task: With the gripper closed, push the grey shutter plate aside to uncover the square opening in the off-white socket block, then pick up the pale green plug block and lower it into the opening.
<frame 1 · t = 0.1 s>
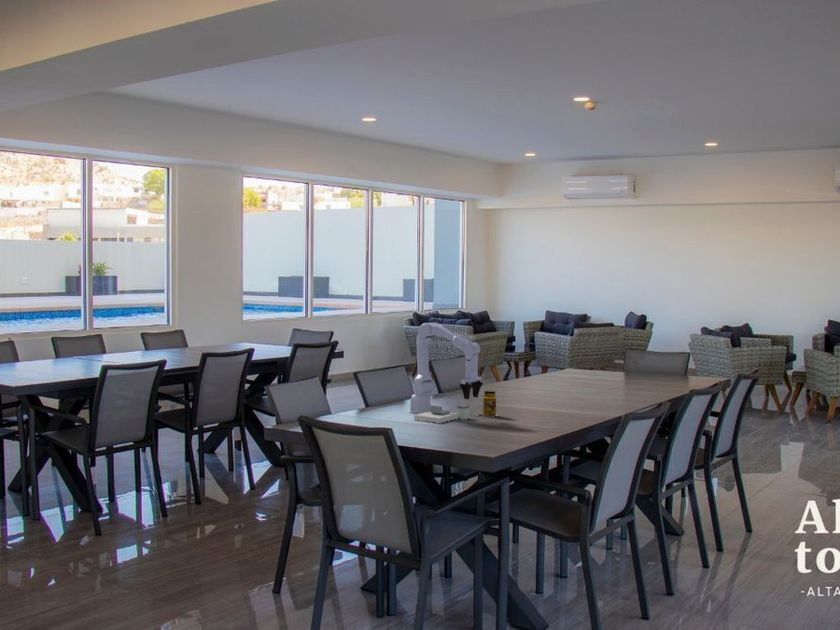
hand: (471, 398, 389), 10 cm above the table, tool pointing down, fingers open, 7 cm apart
socket: (436, 419, 389), on the table
plug: (463, 418, 393), on the table
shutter: (439, 409, 391), point 5 cm above the table, slide at 0.0 cm
condiment: (487, 416, 401), on the table
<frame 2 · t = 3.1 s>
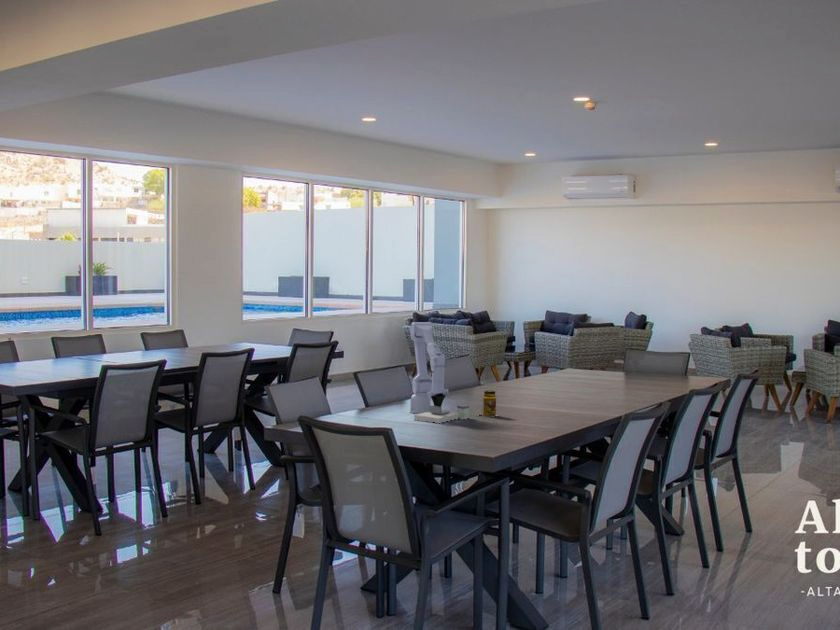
hand: (437, 410, 390), 4 cm above the table, tool pointing down, fingers closed
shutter: (439, 409, 391), point 5 cm above the table, slide at 0.3 cm, touching gripper
everything else where it was.
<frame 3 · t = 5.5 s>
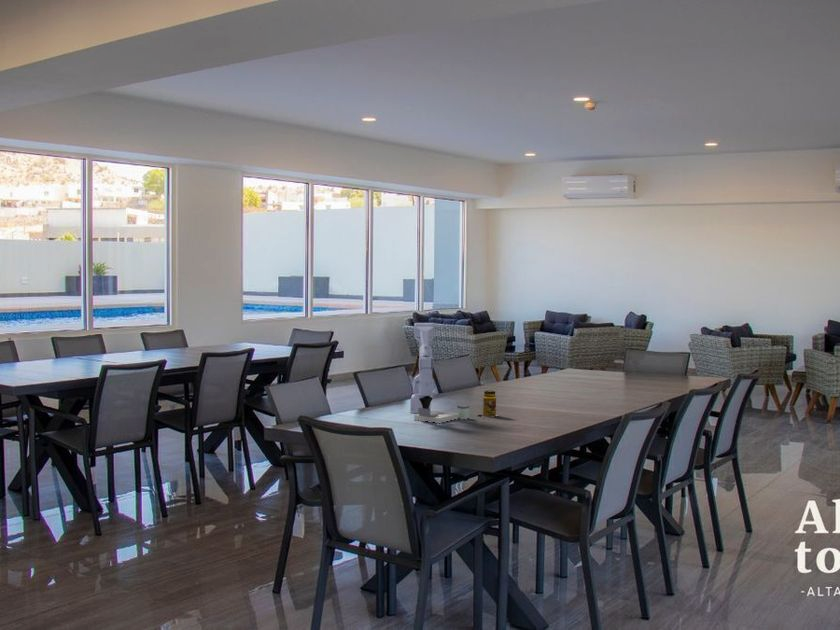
hand: (425, 412, 382), 4 cm above the table, tool pointing down, fingers closed, pressing on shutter
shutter: (428, 411, 384), point 5 cm above the table, slide at 9.3 cm, touching gripper
everything else where it was.
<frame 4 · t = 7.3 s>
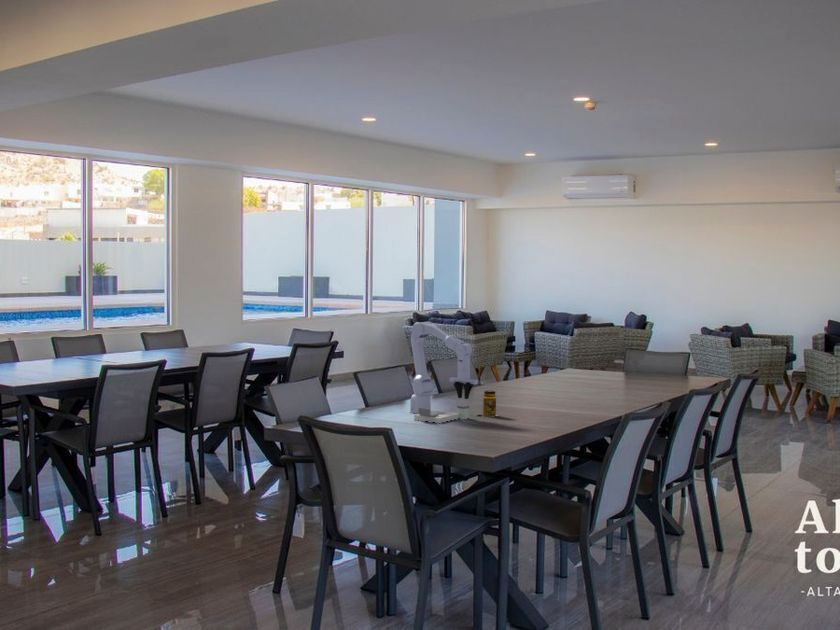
hand: (463, 398, 392), 9 cm above the table, tool pointing down, fingers open, 3 cm apart
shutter: (428, 411, 384), point 5 cm above the table, slide at 9.0 cm
everything else where it was.
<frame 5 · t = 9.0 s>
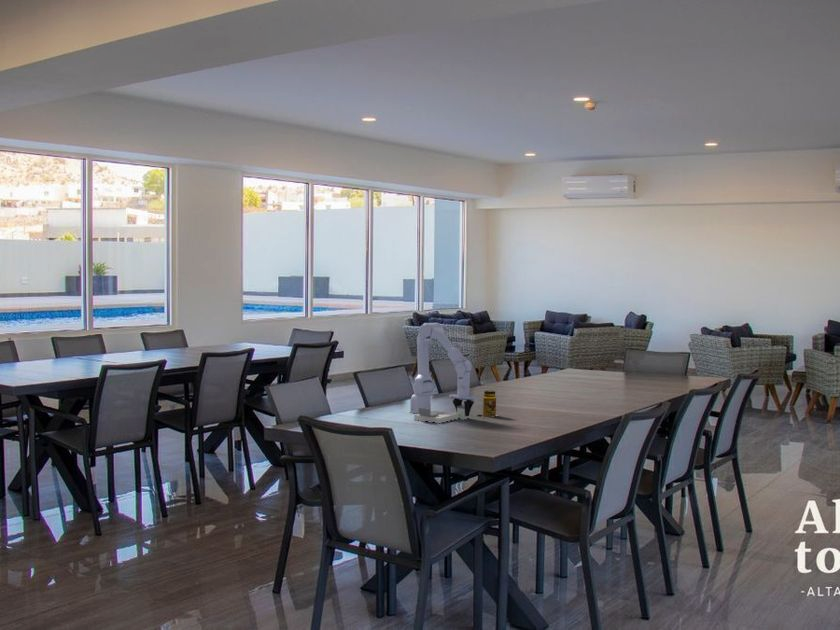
hand: (463, 415, 393), 1 cm above the table, tool pointing down, fingers closed on plug, 4 cm apart
plug: (463, 418, 393), on the table, touching gripper
everything else where it was.
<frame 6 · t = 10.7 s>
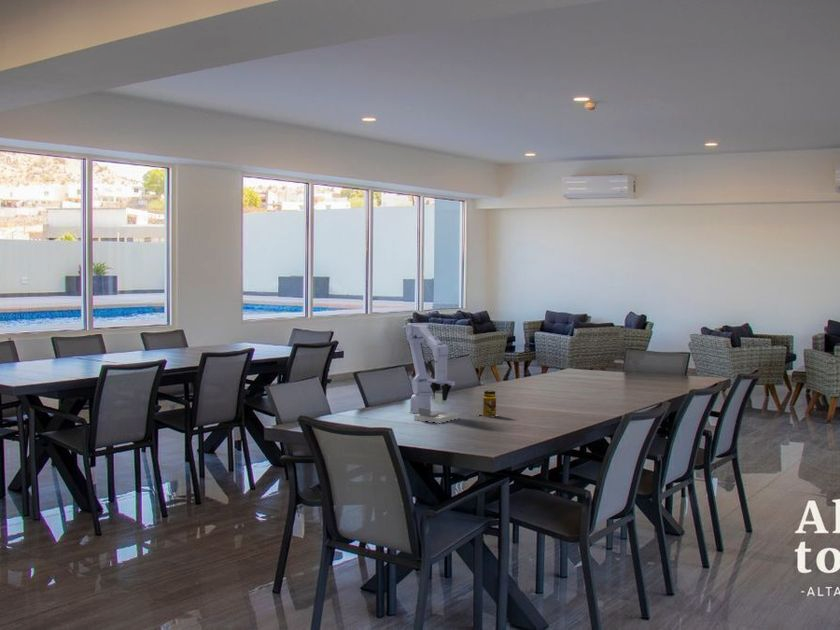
hand: (440, 399, 391), 9 cm above the table, tool pointing down, fingers closed on plug, 4 cm apart
plug: (440, 403, 391), point 7 cm above the table, touching gripper
everything else where it was.
when the fingers open (3 cm above the table, at t = 12.1 s): plug drops 1 cm, resting in socket.
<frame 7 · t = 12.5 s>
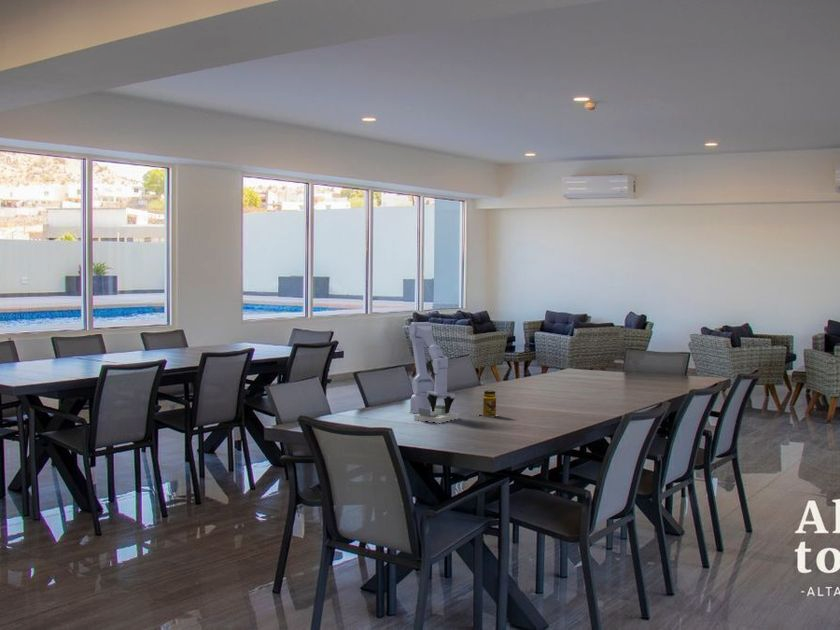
hand: (440, 412, 392), 3 cm above the table, tool pointing down, fingers open, 7 cm apart
plug: (440, 418, 392), resting in socket
everything else where it was.
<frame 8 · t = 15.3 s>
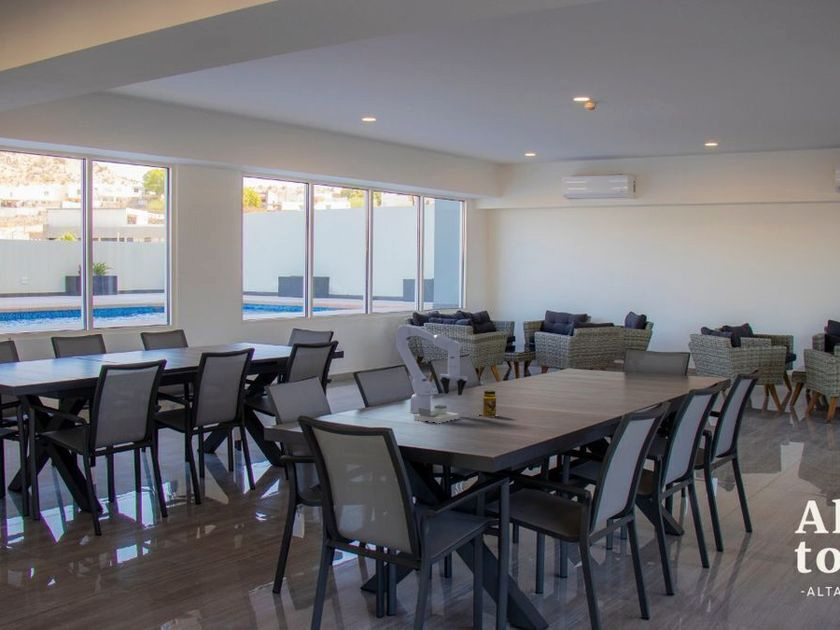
hand: (453, 394, 402), 10 cm above the table, tool pointing down, fingers open, 7 cm apart
nothing on the table moved.
at the end: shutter slide at 9.0 cm; plug 0.0 cm from the target spot on the socket, point 0.0 cm above the socket's base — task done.
